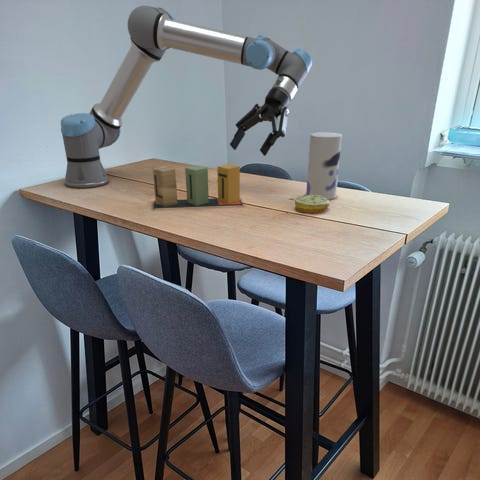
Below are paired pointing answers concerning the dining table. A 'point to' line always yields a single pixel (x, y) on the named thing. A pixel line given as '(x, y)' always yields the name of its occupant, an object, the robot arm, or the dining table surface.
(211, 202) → the word mat
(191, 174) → the sage I block
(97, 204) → the dining table surface
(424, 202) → the dining table surface
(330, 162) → the container
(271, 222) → the dining table surface
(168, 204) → the tan tall block
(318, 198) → the decorated donut
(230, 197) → the tall mustard brick
